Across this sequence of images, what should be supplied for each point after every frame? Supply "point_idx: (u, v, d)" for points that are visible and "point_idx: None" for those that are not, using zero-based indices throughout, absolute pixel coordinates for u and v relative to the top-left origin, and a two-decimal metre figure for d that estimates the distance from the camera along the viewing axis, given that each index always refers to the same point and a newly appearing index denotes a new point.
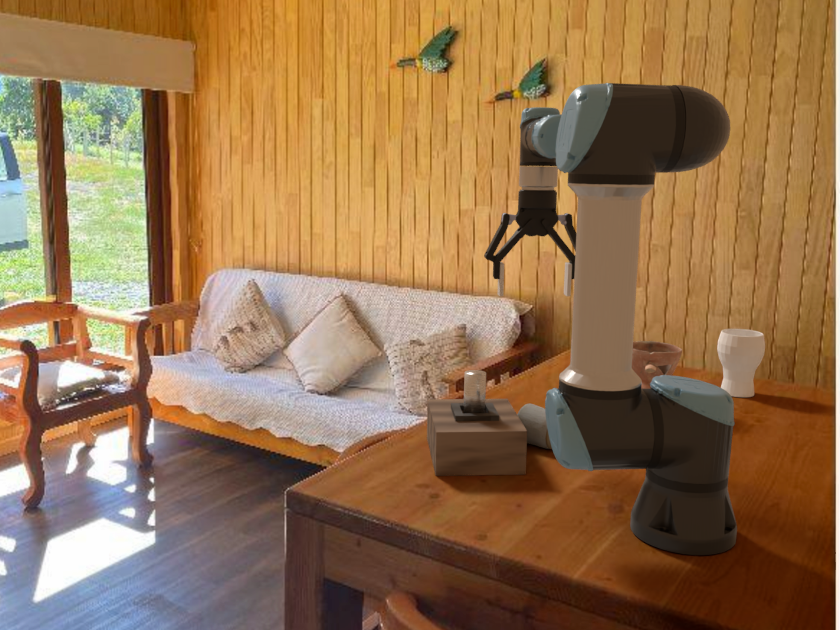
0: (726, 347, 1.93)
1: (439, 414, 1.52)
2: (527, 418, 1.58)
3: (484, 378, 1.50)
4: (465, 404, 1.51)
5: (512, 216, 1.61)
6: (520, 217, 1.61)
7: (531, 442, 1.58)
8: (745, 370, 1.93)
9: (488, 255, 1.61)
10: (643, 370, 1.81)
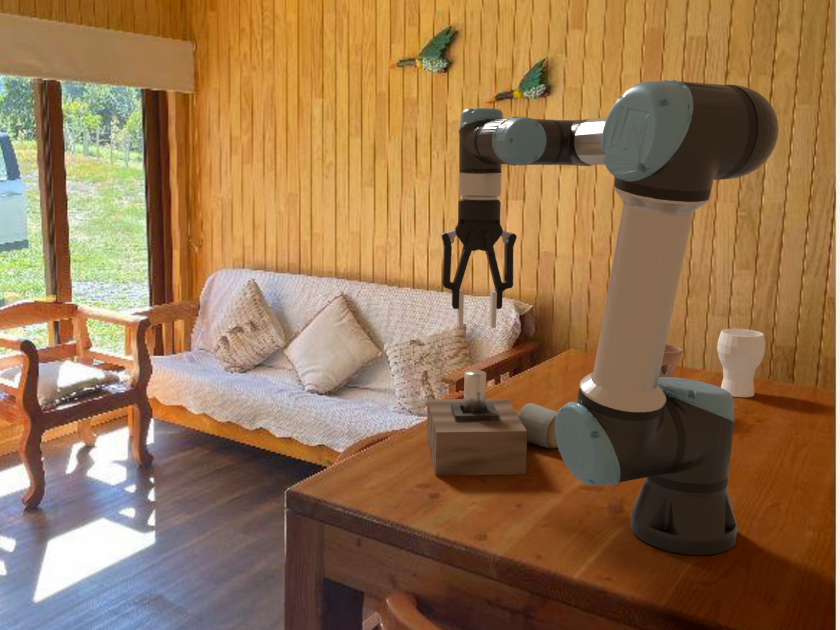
0: (726, 347, 1.93)
1: (439, 414, 1.52)
2: (528, 417, 1.58)
3: (484, 378, 1.50)
4: (465, 404, 1.51)
5: (451, 233, 1.46)
6: (460, 231, 1.45)
7: (532, 441, 1.59)
8: (745, 370, 1.93)
9: (445, 283, 1.46)
10: None
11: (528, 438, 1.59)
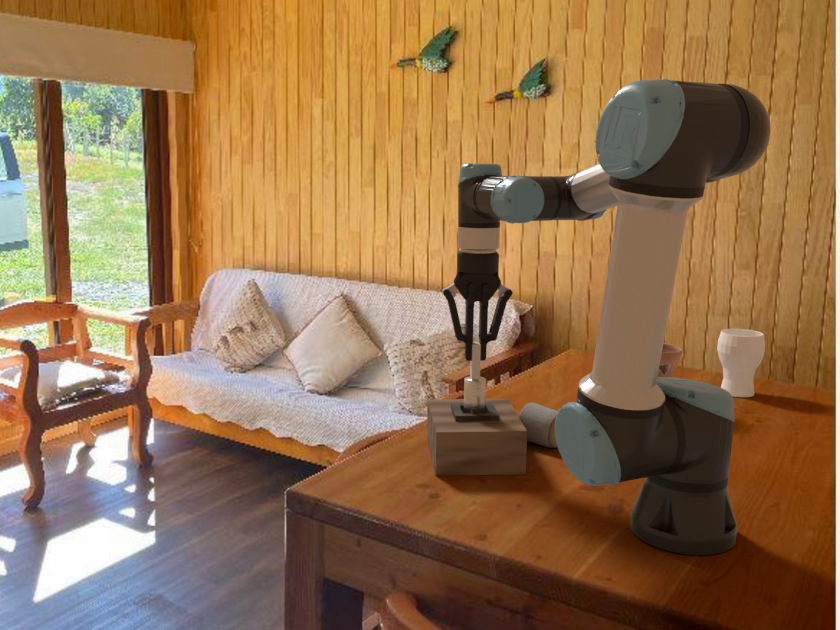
0: (726, 347, 1.93)
1: (439, 414, 1.52)
2: (530, 417, 1.58)
3: (484, 384, 1.50)
4: (465, 410, 1.51)
5: (451, 287, 1.48)
6: (458, 283, 1.47)
7: (534, 441, 1.59)
8: (745, 370, 1.93)
9: (458, 336, 1.48)
10: None
11: (529, 437, 1.59)
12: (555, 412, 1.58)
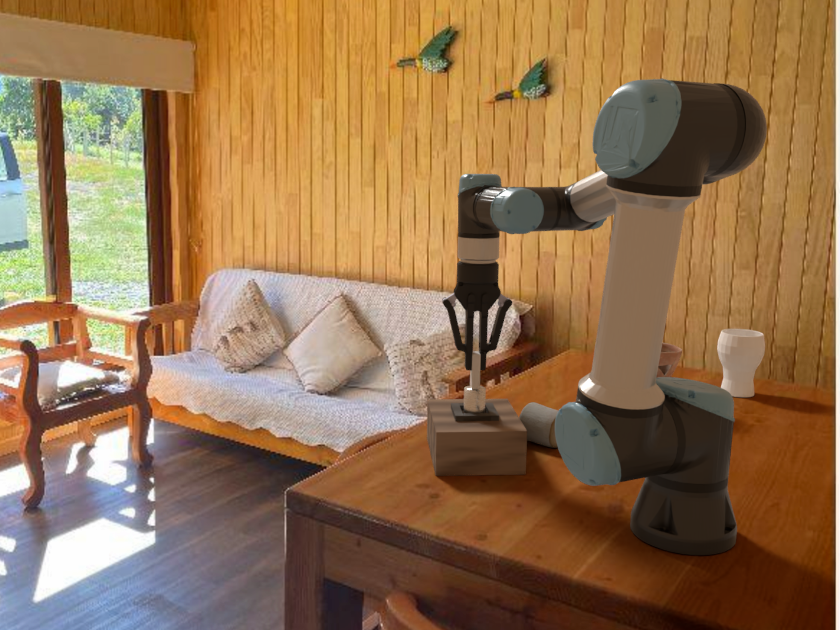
0: (726, 347, 1.93)
1: (439, 414, 1.52)
2: (530, 417, 1.58)
3: (484, 394, 1.51)
4: None
5: (451, 297, 1.48)
6: (458, 293, 1.47)
7: (534, 441, 1.59)
8: (745, 370, 1.93)
9: (458, 346, 1.49)
10: None
11: (530, 437, 1.59)
12: (556, 412, 1.58)
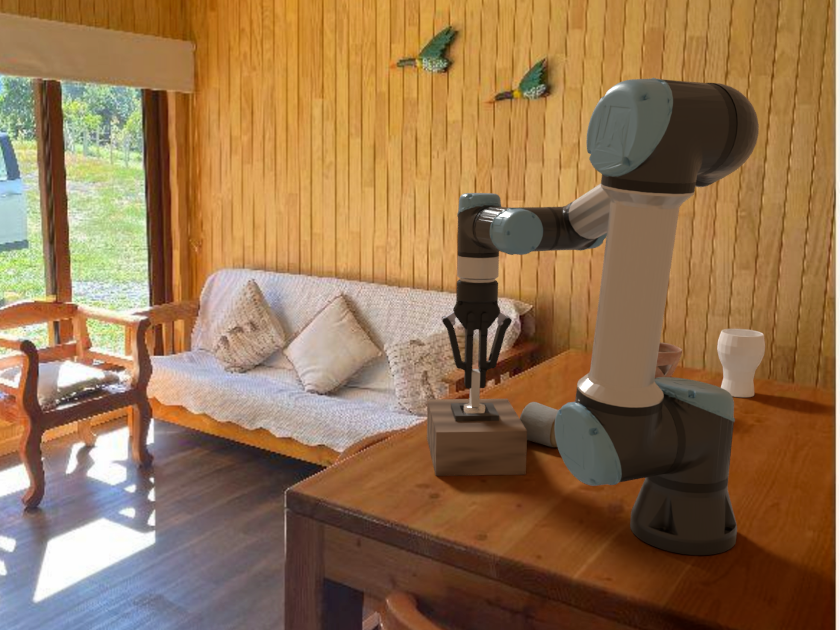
0: (726, 347, 1.93)
1: (439, 414, 1.52)
2: (531, 416, 1.59)
3: (483, 411, 1.51)
4: None
5: (451, 316, 1.48)
6: (458, 312, 1.48)
7: (535, 440, 1.59)
8: (745, 370, 1.93)
9: (457, 364, 1.49)
10: None
11: (531, 437, 1.59)
12: (557, 411, 1.58)
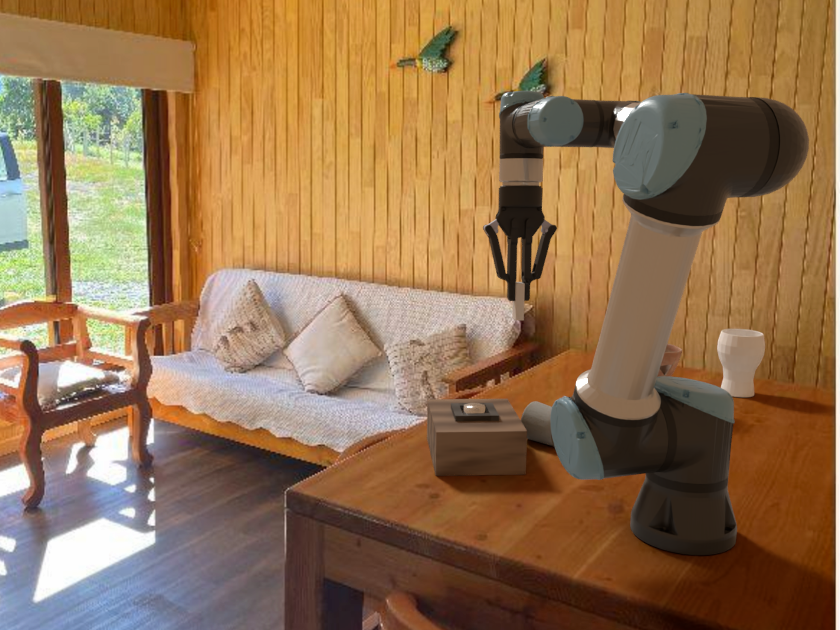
0: (726, 347, 1.93)
1: (439, 414, 1.52)
2: (533, 416, 1.59)
3: (483, 411, 1.51)
4: None
5: (493, 223, 1.41)
6: (501, 218, 1.41)
7: (537, 439, 1.60)
8: (745, 370, 1.93)
9: (501, 275, 1.42)
10: None
11: (533, 436, 1.60)
12: None
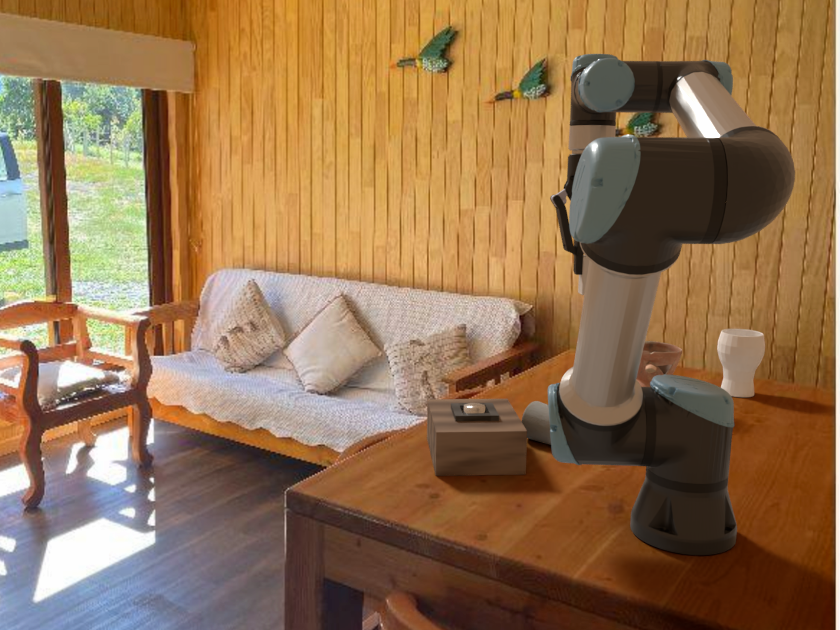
0: (726, 347, 1.93)
1: (439, 414, 1.52)
2: (534, 415, 1.59)
3: (483, 411, 1.51)
4: None
5: (562, 193, 1.36)
6: (570, 188, 1.35)
7: (538, 439, 1.60)
8: (745, 370, 1.93)
9: (568, 247, 1.37)
10: (643, 370, 1.81)
11: (534, 436, 1.60)
12: None
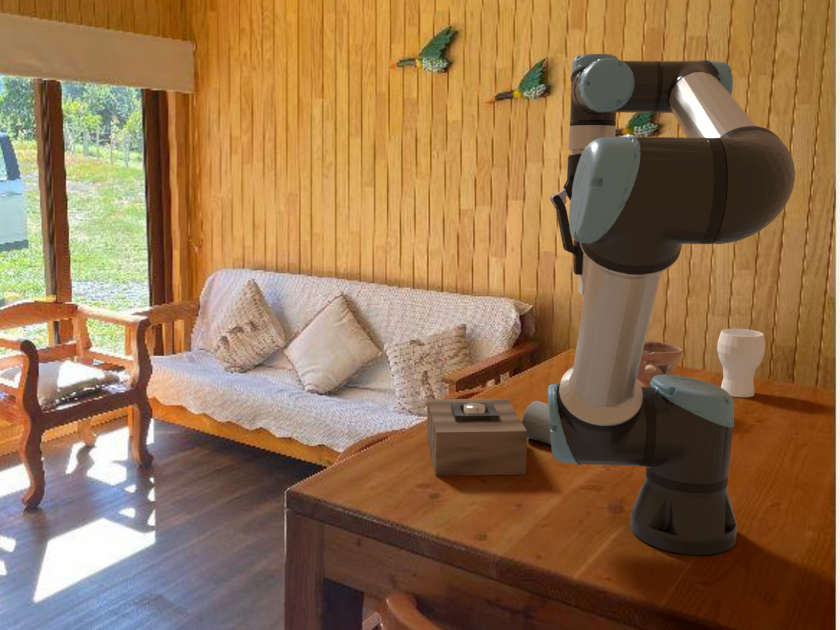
0: (726, 347, 1.93)
1: (439, 414, 1.52)
2: (534, 415, 1.60)
3: (483, 411, 1.51)
4: None
5: (562, 193, 1.36)
6: (570, 188, 1.35)
7: (538, 439, 1.60)
8: (745, 370, 1.93)
9: (568, 247, 1.37)
10: (643, 370, 1.81)
11: (534, 435, 1.60)
12: None
